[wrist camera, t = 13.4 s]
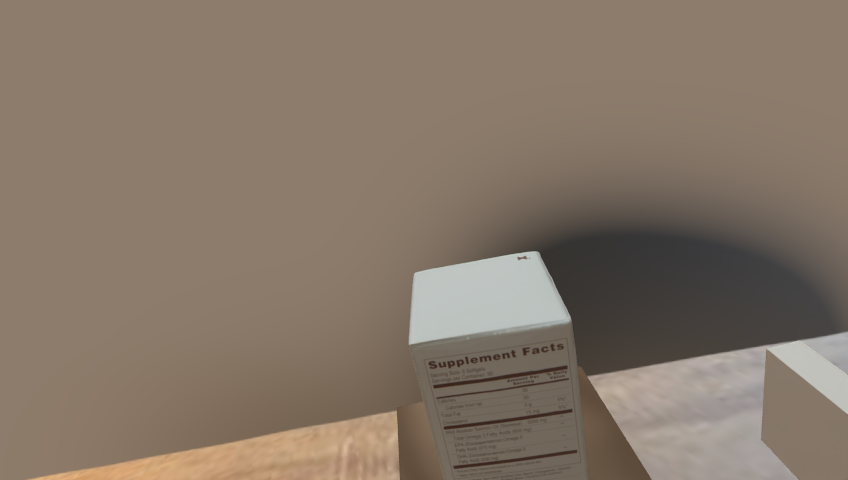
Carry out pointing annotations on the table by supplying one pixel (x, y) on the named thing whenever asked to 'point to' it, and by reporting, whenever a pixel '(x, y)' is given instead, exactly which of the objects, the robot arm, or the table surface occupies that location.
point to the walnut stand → (605, 443)
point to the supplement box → (498, 371)
